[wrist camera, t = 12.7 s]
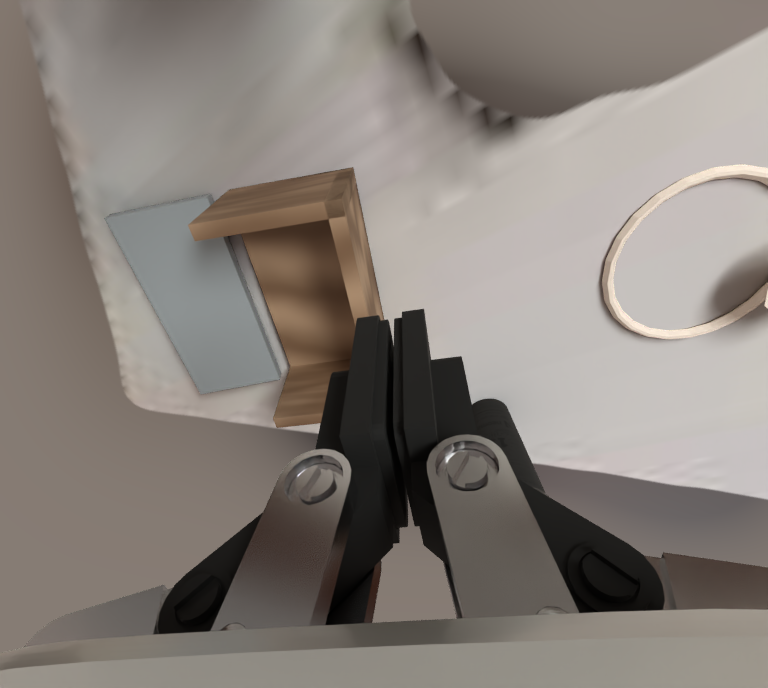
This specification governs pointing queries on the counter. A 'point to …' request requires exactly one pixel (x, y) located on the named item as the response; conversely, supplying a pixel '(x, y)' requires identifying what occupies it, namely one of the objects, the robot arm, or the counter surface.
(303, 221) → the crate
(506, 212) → the counter surface
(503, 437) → the drinking cup
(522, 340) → the counter surface
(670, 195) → the hand towel holder
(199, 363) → the panel
